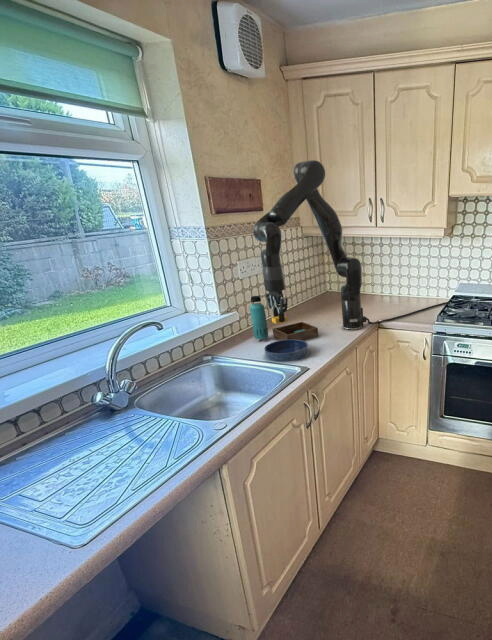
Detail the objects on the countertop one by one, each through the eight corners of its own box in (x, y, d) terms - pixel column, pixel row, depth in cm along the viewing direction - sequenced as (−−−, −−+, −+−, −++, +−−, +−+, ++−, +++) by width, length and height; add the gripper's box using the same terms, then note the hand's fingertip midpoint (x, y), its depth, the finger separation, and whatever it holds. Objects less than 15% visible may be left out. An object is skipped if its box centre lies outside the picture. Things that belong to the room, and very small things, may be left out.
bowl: (295, 345, 178) (294, 336, 176) (316, 355, 166) (316, 346, 164) (258, 354, 168) (257, 346, 166) (278, 366, 156) (277, 357, 154)
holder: (303, 330, 196) (302, 321, 194) (318, 337, 187) (317, 327, 185) (273, 338, 187) (272, 328, 185) (288, 345, 177) (287, 335, 175)
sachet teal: (303, 333, 191) (303, 329, 190) (307, 334, 188) (307, 330, 188) (294, 335, 188) (294, 331, 187) (298, 337, 185) (298, 333, 185)
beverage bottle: (256, 343, 180) (249, 298, 172) (253, 339, 186) (246, 295, 177) (270, 341, 183) (264, 296, 175) (267, 337, 188) (261, 293, 180)
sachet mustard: (283, 319, 167) (282, 314, 166) (287, 321, 164) (286, 316, 163) (272, 322, 164) (271, 317, 163) (276, 324, 161) (275, 319, 160)
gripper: (291, 278, 154) (296, 322, 161) (273, 273, 163) (279, 315, 171) (273, 281, 149) (280, 326, 157) (256, 276, 159) (262, 319, 166)
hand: (279, 320), depth 164 cm, fingers closed on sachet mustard, 3 cm apart
